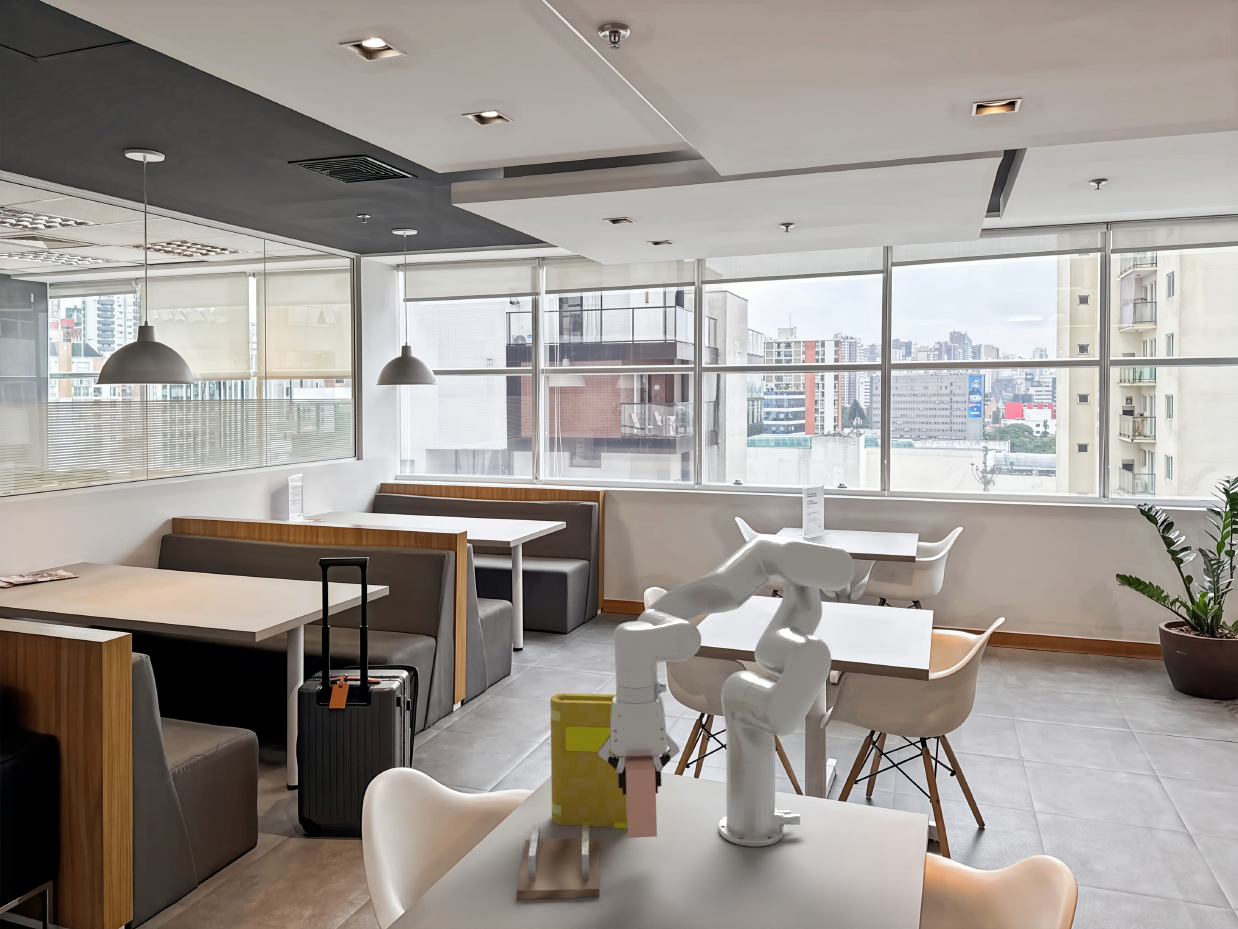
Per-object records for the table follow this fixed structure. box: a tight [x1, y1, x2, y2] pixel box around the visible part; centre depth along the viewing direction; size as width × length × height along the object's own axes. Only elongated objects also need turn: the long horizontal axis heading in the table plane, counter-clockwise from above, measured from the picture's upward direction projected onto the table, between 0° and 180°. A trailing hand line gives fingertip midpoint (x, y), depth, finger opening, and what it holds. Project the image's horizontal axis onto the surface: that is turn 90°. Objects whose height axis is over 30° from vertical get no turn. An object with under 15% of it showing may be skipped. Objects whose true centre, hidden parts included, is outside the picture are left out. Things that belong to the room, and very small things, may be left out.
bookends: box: [528, 822, 590, 881], centre depth 155 cm, size 10×12×4 cm
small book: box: [625, 756, 658, 839], centre depth 155 cm, size 5×11×12 cm, turn 2°
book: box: [550, 692, 628, 829], centre depth 174 cm, size 17×7×25 cm, turn 84°
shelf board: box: [516, 837, 600, 900], centre depth 155 cm, size 14×18×2 cm
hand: (639, 789), depth 155 cm, fingers closed on small book, 5 cm apart
